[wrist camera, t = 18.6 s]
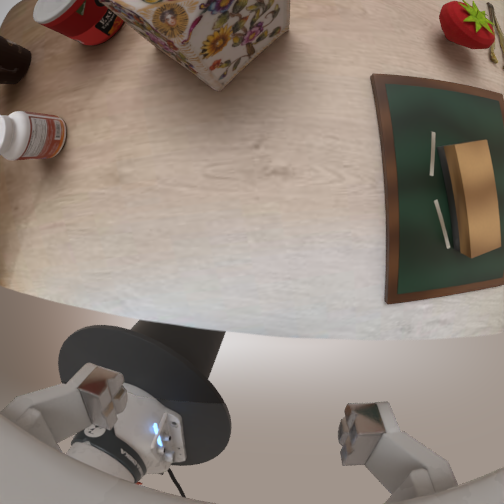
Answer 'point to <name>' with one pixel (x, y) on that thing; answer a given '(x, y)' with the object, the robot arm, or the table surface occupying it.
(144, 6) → the decorative jar
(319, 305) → the table surface
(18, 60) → the coffee mug
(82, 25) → the canned food
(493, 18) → the tongs
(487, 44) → the strawberry
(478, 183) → the eraser
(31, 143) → the pill bottle
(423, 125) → the chalkboard
